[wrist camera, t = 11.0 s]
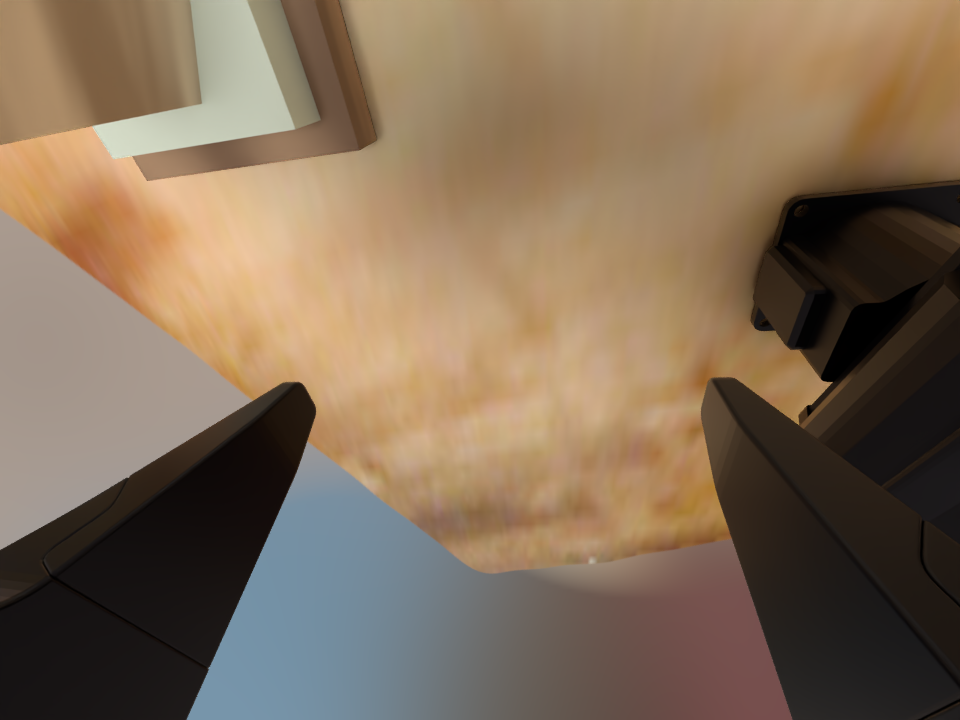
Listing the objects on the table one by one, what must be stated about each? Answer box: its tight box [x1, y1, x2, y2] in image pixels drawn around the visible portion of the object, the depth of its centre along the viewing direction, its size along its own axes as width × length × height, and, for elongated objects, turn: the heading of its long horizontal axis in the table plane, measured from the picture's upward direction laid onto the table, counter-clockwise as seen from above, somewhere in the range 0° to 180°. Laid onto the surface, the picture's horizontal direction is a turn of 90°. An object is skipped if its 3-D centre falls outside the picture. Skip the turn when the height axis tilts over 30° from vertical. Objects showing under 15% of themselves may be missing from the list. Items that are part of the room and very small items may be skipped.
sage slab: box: [92, 0, 321, 159], centre depth 14 cm, size 8×8×2 cm
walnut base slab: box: [132, 0, 377, 181], centre depth 15 cm, size 11×11×2 cm
